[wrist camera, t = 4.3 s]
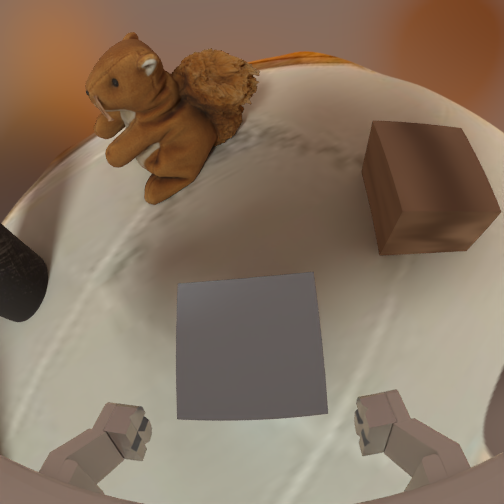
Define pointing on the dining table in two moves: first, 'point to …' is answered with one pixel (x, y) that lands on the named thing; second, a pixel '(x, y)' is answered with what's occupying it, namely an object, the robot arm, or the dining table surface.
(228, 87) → the stuffed squirrel
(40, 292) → the travel mug
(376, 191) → the walnut block
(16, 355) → the dining table surface
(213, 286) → the slate block
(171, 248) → the dining table surface
